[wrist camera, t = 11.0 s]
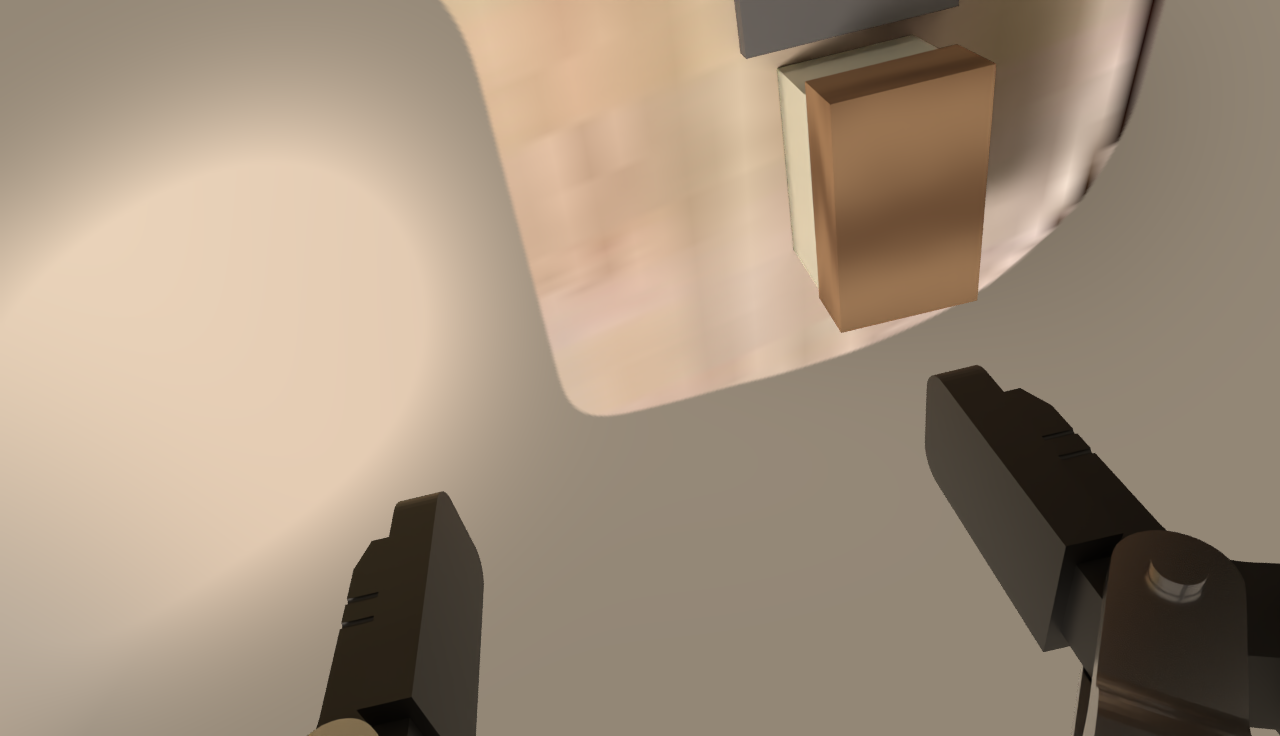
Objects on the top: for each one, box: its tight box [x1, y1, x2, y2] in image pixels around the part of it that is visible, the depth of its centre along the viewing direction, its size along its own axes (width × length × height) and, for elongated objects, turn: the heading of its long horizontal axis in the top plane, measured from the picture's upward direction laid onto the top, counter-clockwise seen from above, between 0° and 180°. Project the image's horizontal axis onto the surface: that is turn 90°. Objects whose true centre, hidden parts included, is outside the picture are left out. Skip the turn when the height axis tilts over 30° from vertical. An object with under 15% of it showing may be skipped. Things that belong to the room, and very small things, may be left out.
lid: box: [805, 44, 996, 333], centre depth 31 cm, size 10×6×3 cm, turn 12°
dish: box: [777, 35, 938, 289], centre depth 34 cm, size 9×6×4 cm, turn 12°
